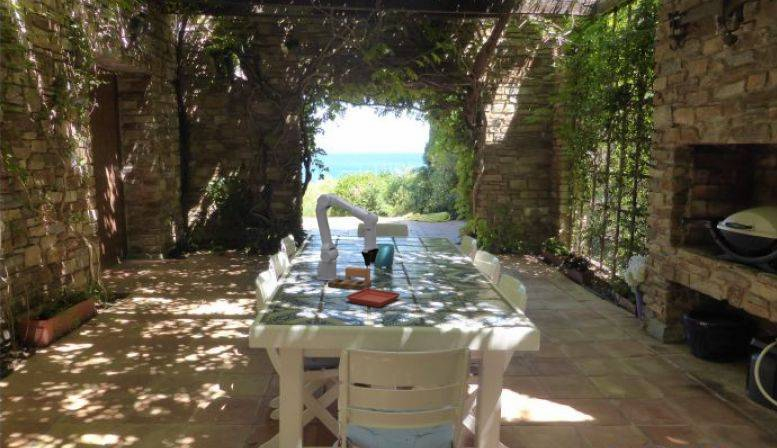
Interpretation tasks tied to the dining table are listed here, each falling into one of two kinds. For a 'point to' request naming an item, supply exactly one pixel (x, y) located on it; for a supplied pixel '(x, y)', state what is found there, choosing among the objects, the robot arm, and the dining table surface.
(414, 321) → the dining table surface
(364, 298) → the plant saucer
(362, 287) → the brown flat slab
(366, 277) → the tan stepped block
